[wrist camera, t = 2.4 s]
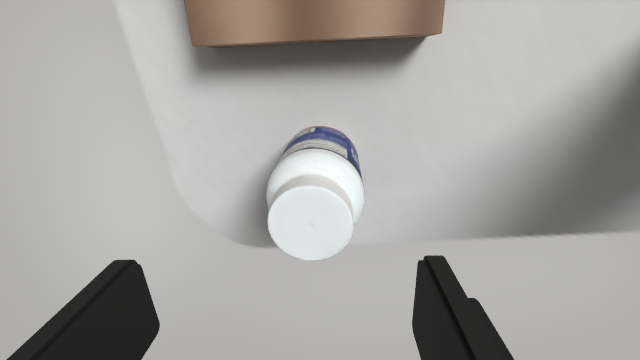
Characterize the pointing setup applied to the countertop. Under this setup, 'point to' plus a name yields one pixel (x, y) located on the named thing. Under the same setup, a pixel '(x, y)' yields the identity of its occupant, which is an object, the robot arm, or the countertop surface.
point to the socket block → (309, 20)
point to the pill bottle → (315, 194)
